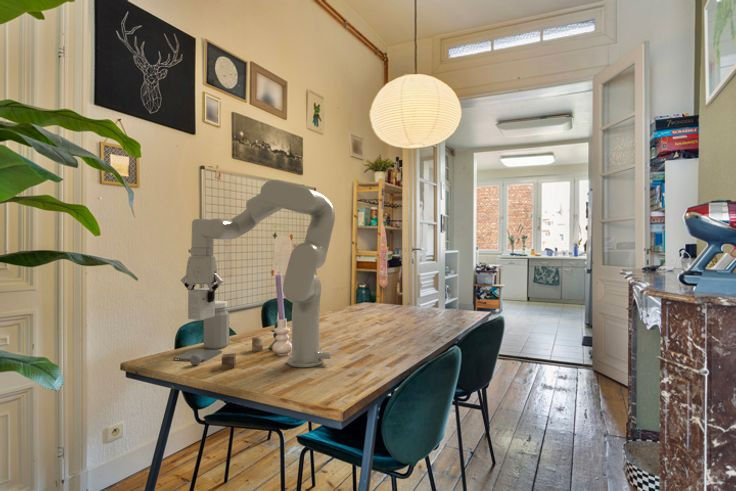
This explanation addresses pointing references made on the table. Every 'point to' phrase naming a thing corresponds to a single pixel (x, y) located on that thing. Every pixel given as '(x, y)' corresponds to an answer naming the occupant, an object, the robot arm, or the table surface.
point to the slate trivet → (203, 353)
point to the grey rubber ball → (195, 359)
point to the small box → (200, 304)
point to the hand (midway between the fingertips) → (201, 301)
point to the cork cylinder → (257, 344)
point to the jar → (217, 327)
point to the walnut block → (228, 361)
